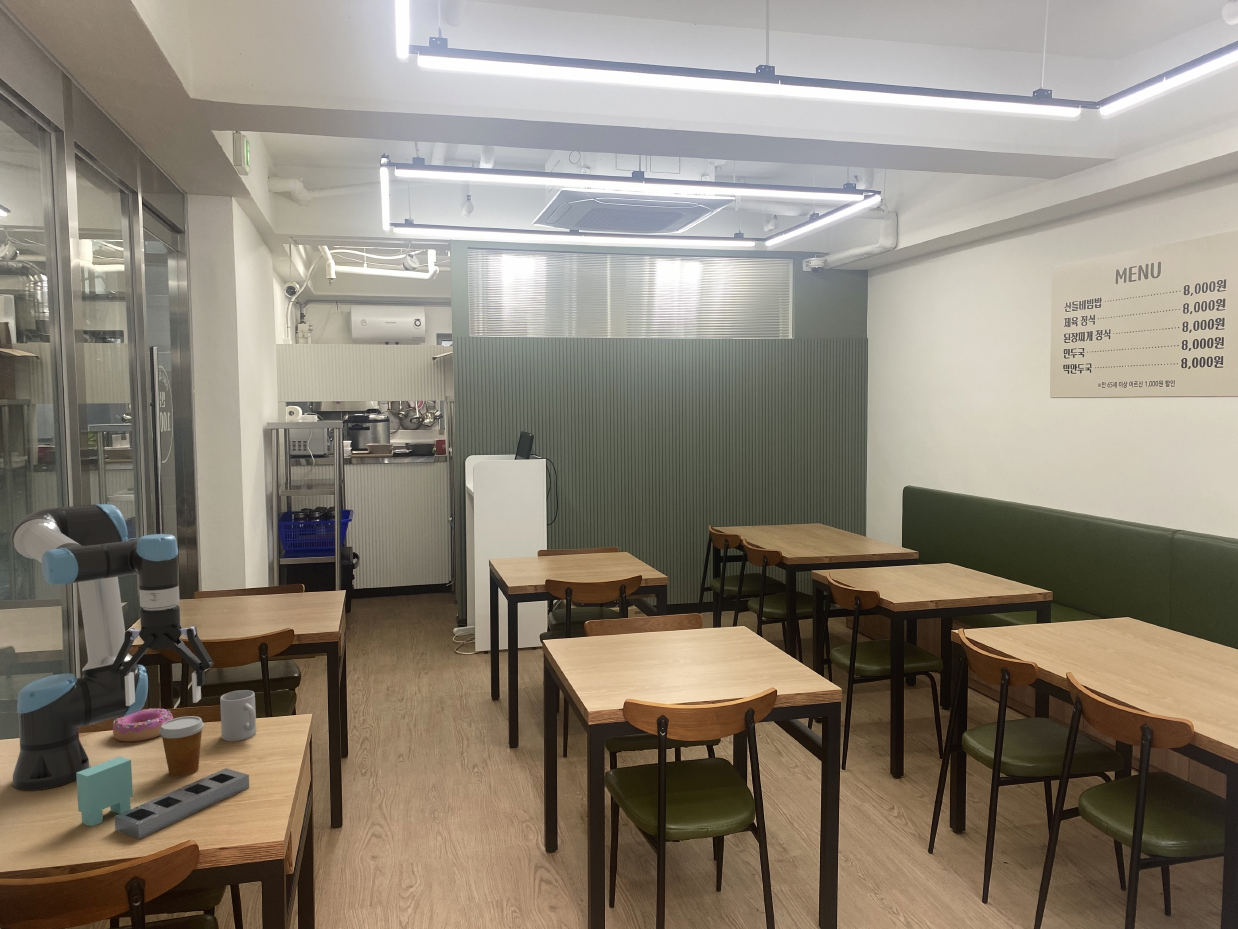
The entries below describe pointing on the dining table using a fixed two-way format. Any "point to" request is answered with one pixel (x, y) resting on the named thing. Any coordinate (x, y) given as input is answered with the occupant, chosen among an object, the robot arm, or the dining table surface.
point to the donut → (140, 725)
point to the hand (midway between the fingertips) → (164, 702)
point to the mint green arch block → (104, 789)
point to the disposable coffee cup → (182, 744)
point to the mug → (238, 715)
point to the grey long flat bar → (180, 803)
